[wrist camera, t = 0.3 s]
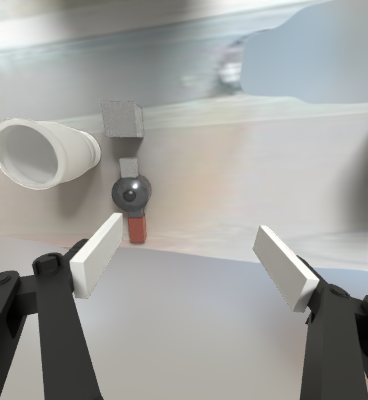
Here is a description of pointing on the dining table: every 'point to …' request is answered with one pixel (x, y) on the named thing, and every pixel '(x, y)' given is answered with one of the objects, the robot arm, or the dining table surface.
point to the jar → (45, 152)
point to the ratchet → (132, 197)
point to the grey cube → (122, 119)
